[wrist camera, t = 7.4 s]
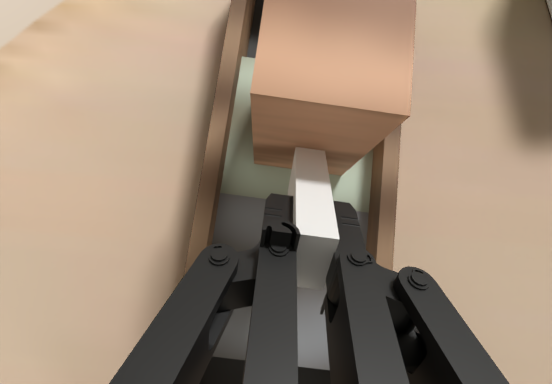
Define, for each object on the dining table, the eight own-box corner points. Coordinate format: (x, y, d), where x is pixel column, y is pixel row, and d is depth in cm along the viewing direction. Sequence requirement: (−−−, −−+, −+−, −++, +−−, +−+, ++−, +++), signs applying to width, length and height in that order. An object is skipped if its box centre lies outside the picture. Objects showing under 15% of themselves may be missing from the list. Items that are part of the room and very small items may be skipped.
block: (341, 175, 22) (410, 116, 12) (254, 163, 22) (250, 93, 12) (349, 94, 23) (417, -23, 13) (265, 82, 23) (271, -45, 13)
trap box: (346, 505, 21) (373, 583, 16) (164, 485, 21) (134, 560, 16) (384, 1, 28) (411, -52, 23) (247, -20, 27) (244, -78, 22)
